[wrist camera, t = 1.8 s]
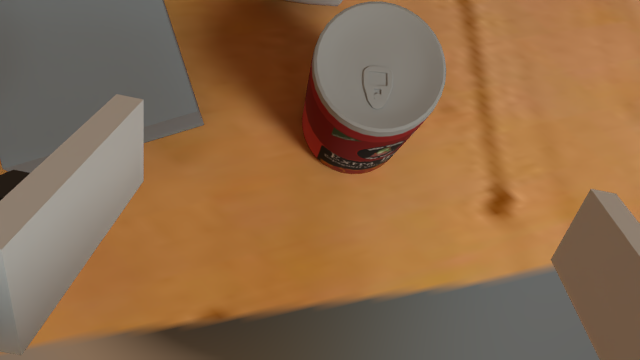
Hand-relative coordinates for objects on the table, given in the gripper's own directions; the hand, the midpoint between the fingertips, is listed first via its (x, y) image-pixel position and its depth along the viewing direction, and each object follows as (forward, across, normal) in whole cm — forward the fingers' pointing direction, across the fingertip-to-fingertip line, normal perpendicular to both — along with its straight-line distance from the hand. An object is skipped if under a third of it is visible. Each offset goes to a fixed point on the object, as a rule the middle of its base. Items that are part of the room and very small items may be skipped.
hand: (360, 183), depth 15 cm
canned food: (+23, +1, -9) cm, 25 cm away
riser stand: (+22, -18, -8) cm, 30 cm away
